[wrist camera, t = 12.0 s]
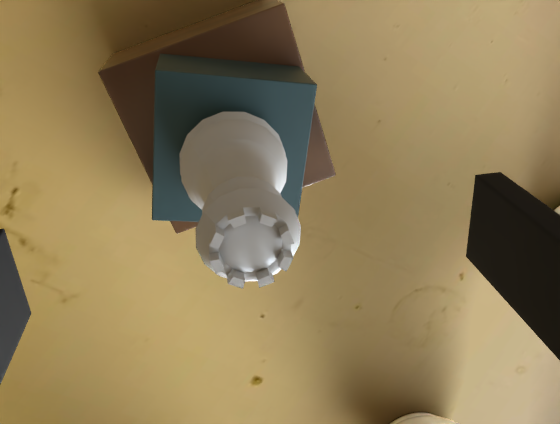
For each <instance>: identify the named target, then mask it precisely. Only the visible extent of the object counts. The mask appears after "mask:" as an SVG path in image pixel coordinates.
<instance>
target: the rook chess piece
mask: <svg viewBox="0 0 560 424" xmlns="http://www.w3.org/2000/svg"><path fill="white" fill-rule="evenodd" d="M179 155H180V175H181V180H182V183H183V185H184V187H185V189H186V192H187V194H188V196H189V198H190V199H191V201H192V202H193V203H195V204H196V205H197V206H198V207H199V208H200V209H202V216H201V218H200V221H199V223H198V225H197V227H196V248H197V250H198V252H199V254H200V256H201V258H202V260H203V262H204V264H205V265H206V266H207V267H209V268H210V269H211V270H212V271H214V272H215V273H216V274H217V275H219V276H221V277H224V278H227V280H228V284H230V285H233V286H236V287H240V288H243V287H244V283H245V281H258V284H259V288H260V287H263V286H265V285H268V284H270V283H273V282H274V278H273V275H274V274H276V273H278V272H279V271H280V270H281V269H283V270H284V271H287V269H288V268H289V266H290V264H291V262H292V260H293V256H294V254H295V252H296V250H297V248H298V246H299V245H300V232H301V225H300V223H299V220H298V217H297V215H296V212H295V210H294V208H293V207H292V206H291V205H289V204H288V203H287V202H286V201H285V200H284V199H283V198H282V196H281V194H280V193H281V191H282V189H283V187H284V185H285V183H286V177H287V158H286V153H285V150H284V147H283V145H282V142H281V140H280V137H279V134H278V133H277V132H276V131H275V130H274V129H273V128H272V127H271V126H270V125H269V124H268V123H267V122H266V121H265V120H263V119H261V118H258V117H256V116H254V115H251V114H249V113H246V112H221V113H218V114H216V115H213V116H211V117H208V118H206V119H203V120H202V121H201V122H200V123H199V124H198V125H197V126H196V127H195V128H194V129H193V130H191V131H190V132H189V133H188V134H187V136H186V139H185V141H184V144H183V146H182V149H181V151H180V154H179Z"/></svg>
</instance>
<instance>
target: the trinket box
mask: <svg viewBox="0 0 560 424" xmlns="http://www.w3.org/2000/svg"><path fill="white" fill-rule="evenodd" d="M390 424H459V423H457V422H455V421H453V420H451V419H447V418H444V417H439V416H436V415H433V414H430V413H412V414H408V415H405V416H402V417H400V418H398V419H396V420H395V421H393V422H392V423H390Z"/></svg>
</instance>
